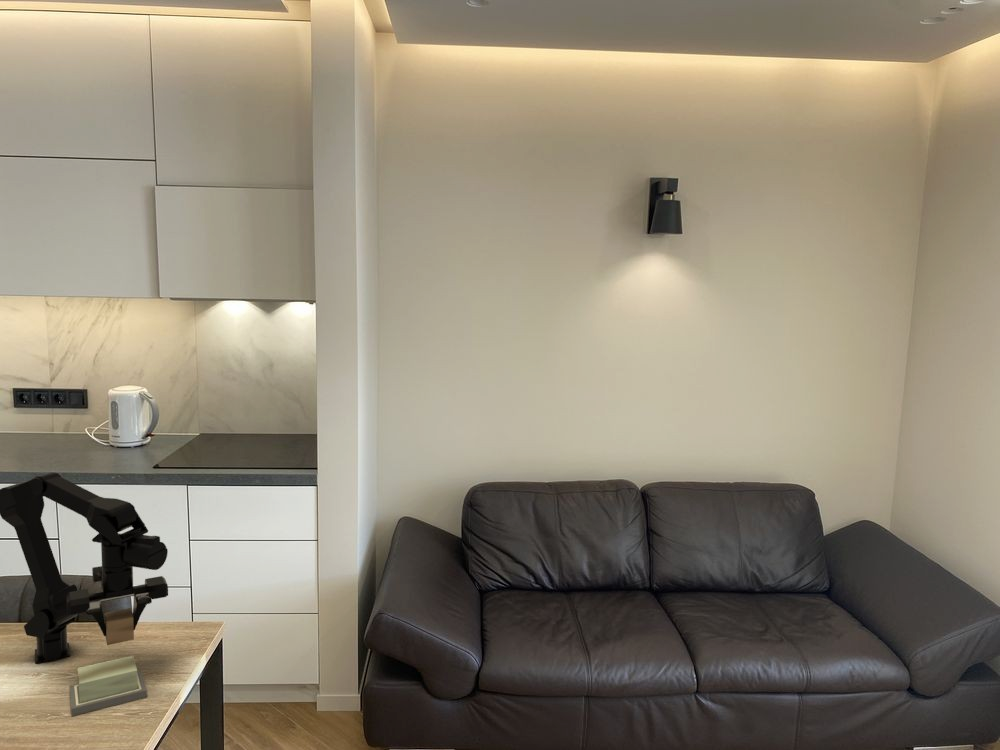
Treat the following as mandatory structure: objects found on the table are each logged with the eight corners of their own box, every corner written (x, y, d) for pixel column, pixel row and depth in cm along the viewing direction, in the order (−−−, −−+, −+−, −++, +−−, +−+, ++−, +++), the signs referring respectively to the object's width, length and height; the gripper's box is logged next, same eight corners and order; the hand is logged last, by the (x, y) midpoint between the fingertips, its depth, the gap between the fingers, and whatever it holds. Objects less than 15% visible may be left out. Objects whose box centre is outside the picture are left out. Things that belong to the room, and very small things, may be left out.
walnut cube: (105, 634, 153) (104, 612, 152) (131, 629, 156) (130, 607, 155) (107, 645, 149) (106, 622, 148) (133, 639, 152) (133, 617, 151)
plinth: (69, 692, 144) (69, 685, 143) (141, 675, 151) (140, 668, 151) (71, 716, 136) (71, 708, 136) (146, 697, 143) (146, 689, 143)
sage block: (78, 686, 143) (77, 668, 143) (133, 673, 149) (133, 655, 148) (80, 703, 138) (79, 683, 137) (137, 688, 143) (137, 670, 143)
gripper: (160, 543, 162) (161, 608, 164) (64, 557, 152) (66, 626, 154) (167, 559, 153) (169, 628, 155) (66, 576, 143) (69, 649, 145)
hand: (119, 632), depth 152 cm, fingers closed on walnut cube, 5 cm apart
